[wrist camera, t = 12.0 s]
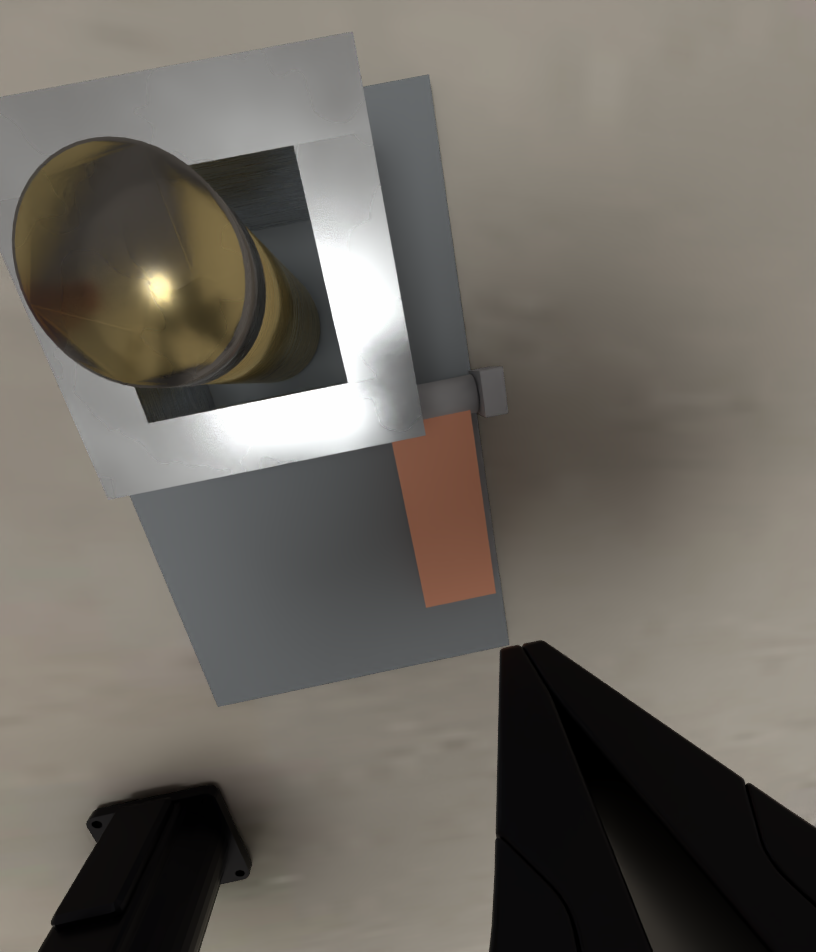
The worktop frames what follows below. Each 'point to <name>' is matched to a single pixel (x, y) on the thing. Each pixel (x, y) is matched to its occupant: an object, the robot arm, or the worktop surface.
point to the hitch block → (259, 207)
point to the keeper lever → (446, 495)
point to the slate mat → (334, 477)
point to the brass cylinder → (154, 273)
